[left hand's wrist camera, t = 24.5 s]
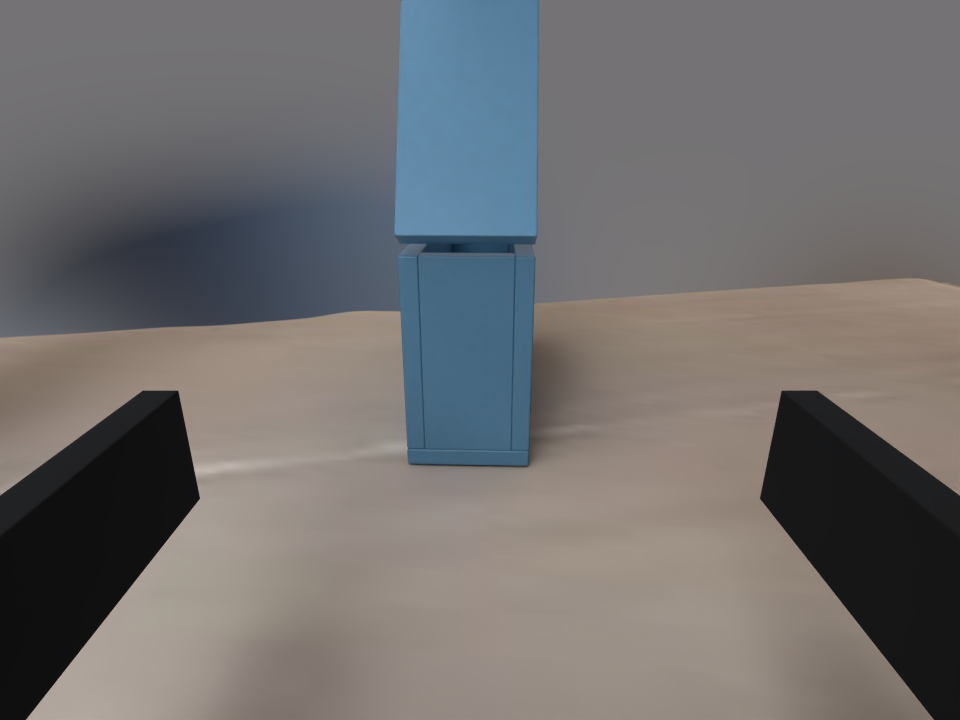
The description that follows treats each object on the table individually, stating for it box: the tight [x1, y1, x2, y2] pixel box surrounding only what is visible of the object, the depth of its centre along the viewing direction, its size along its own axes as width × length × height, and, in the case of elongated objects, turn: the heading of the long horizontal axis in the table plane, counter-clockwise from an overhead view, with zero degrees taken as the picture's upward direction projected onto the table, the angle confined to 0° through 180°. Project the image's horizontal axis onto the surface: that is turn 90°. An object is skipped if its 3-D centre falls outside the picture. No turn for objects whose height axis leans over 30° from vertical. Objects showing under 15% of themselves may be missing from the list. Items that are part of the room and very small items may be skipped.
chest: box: [398, 244, 536, 466], centre depth 30 cm, size 16×5×9 cm, turn 178°
